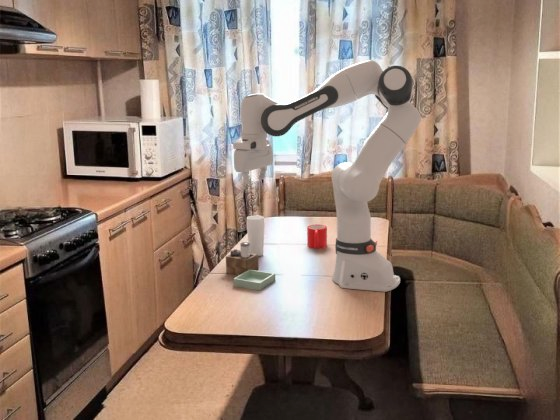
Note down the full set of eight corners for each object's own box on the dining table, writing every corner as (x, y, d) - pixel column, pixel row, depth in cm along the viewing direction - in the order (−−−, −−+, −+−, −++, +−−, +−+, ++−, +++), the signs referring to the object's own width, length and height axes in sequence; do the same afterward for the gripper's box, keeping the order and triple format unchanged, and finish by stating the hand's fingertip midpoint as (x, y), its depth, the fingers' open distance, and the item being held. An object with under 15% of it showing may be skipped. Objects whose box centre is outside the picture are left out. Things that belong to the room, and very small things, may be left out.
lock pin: (252, 271, 205) (251, 242, 203) (247, 274, 203) (246, 245, 200) (244, 270, 207) (243, 241, 205) (239, 272, 204) (238, 244, 202)
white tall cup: (263, 257, 220) (261, 219, 217) (245, 257, 222) (244, 219, 218) (267, 252, 227) (265, 215, 223) (250, 251, 228) (248, 214, 225)
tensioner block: (258, 270, 206) (257, 249, 205) (248, 276, 200) (247, 254, 199) (237, 266, 211) (236, 246, 209) (226, 272, 205) (225, 251, 203)
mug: (307, 251, 227) (306, 232, 225) (307, 242, 239) (307, 224, 237) (327, 251, 226) (327, 232, 225) (326, 242, 238) (326, 224, 236)
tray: (275, 280, 196) (275, 273, 195) (260, 290, 187) (259, 283, 187) (249, 276, 201) (249, 269, 200) (233, 285, 192) (233, 278, 191)
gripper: (261, 138, 209) (262, 175, 212) (230, 144, 191) (231, 185, 195) (277, 139, 206) (277, 177, 209) (246, 145, 188) (247, 187, 192)
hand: (254, 181), depth 202 cm, fingers open, 8 cm apart
